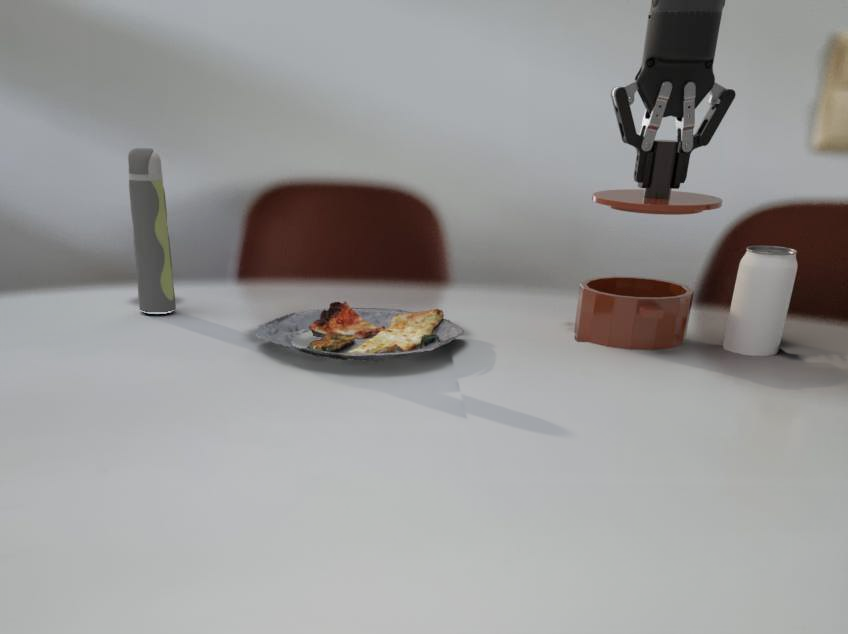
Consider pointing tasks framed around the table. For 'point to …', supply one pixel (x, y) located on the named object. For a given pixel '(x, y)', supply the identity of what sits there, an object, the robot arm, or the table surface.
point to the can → (760, 300)
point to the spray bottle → (150, 231)
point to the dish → (633, 312)
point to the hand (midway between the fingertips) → (658, 186)
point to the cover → (658, 189)
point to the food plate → (363, 332)
